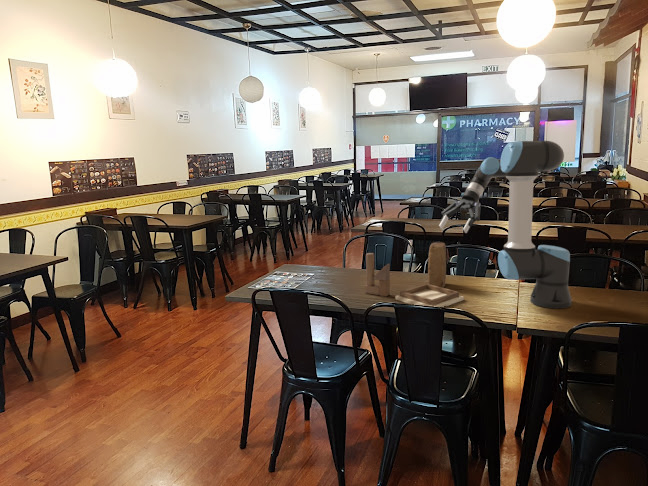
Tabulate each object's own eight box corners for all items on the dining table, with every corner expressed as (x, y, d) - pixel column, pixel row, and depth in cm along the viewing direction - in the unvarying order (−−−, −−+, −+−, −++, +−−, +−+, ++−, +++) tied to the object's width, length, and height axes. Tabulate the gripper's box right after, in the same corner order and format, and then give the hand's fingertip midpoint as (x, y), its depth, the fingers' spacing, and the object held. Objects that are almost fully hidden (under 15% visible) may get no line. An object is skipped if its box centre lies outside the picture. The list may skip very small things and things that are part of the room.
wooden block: (386, 296, 212) (386, 256, 209) (364, 293, 218) (364, 253, 215) (390, 294, 215) (390, 254, 212) (368, 291, 221) (368, 252, 218)
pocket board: (463, 300, 205) (463, 292, 204) (432, 310, 193) (433, 302, 192) (426, 289, 221) (426, 282, 220) (395, 299, 208) (395, 291, 208)
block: (443, 289, 220) (444, 246, 216) (426, 288, 223) (427, 245, 219) (447, 283, 230) (448, 241, 226) (431, 281, 233) (431, 240, 229)
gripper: (498, 201, 227) (478, 237, 221) (454, 197, 247) (434, 230, 241) (492, 190, 223) (472, 227, 217) (448, 187, 242) (427, 221, 236)
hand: (452, 229), depth 229 cm, fingers open, 13 cm apart
